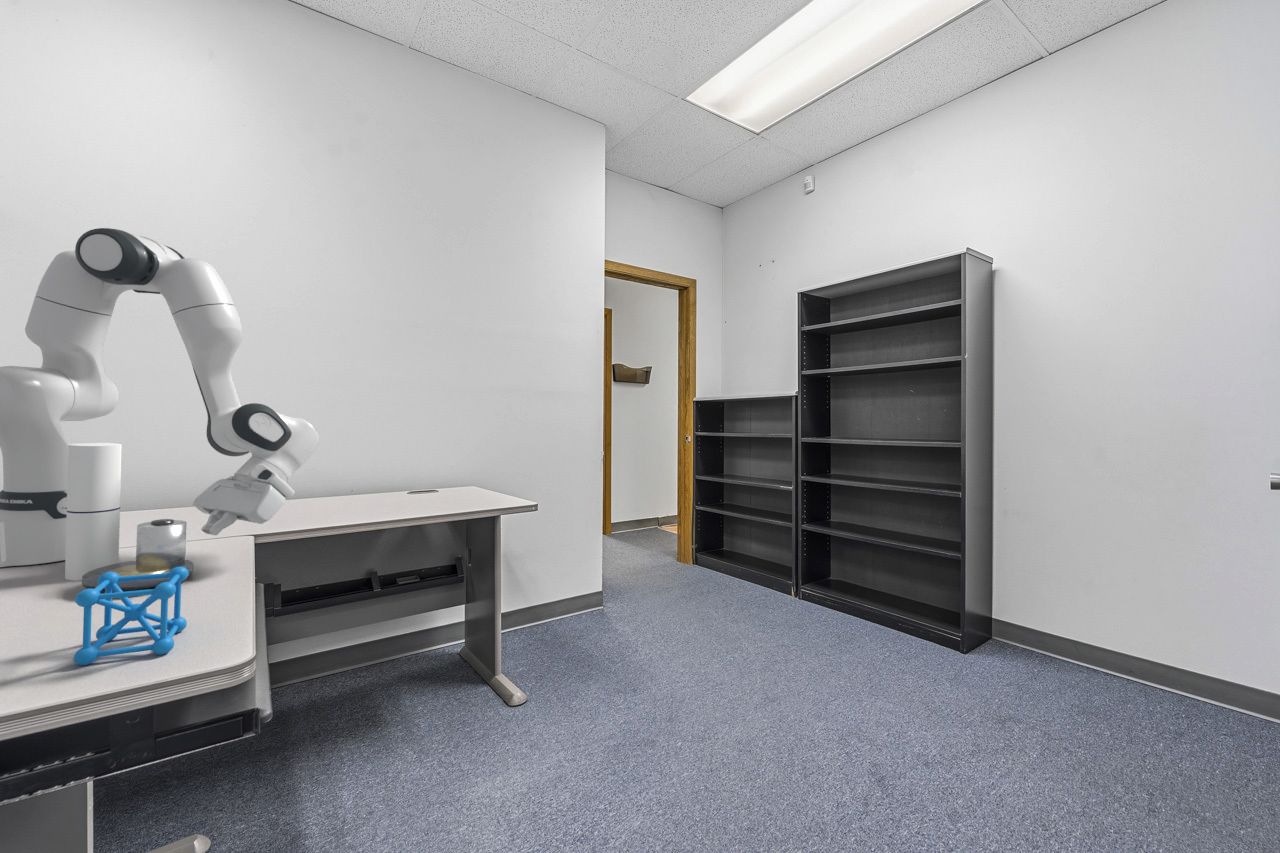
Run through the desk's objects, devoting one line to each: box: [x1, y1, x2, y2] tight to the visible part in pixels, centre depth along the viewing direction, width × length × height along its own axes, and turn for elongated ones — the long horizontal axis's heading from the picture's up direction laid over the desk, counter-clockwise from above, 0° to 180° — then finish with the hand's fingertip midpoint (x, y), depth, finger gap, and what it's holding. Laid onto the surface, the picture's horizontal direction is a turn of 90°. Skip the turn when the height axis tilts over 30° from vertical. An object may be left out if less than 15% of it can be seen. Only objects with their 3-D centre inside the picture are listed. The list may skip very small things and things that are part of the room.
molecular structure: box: [72, 567, 189, 666], centre depth 75 cm, size 10×10×10 cm
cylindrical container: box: [64, 442, 123, 582], centre depth 102 cm, size 7×7×25 cm
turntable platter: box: [81, 559, 195, 591], centre depth 99 cm, size 15×15×1 cm
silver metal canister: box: [135, 518, 187, 571], centre depth 102 cm, size 7×7×9 cm
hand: (208, 533), depth 109 cm, fingers closed
